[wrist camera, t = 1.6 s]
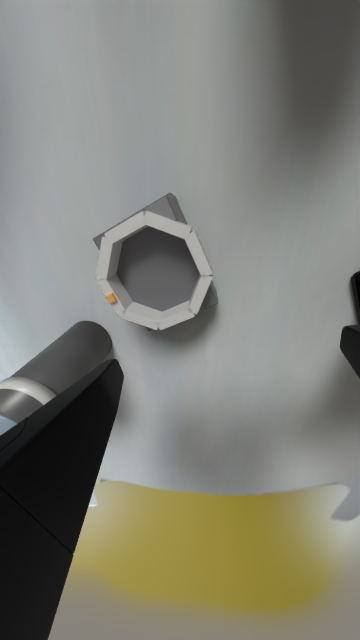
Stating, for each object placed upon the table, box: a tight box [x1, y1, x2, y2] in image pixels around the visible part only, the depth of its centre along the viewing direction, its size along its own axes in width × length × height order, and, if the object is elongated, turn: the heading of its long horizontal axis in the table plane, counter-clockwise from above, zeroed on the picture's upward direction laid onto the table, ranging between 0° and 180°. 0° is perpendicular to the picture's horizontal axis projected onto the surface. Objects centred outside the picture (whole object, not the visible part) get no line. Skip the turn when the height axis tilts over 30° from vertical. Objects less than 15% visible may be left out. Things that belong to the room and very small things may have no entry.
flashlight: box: [0, 321, 112, 435], centre depth 19 cm, size 5×5×12 cm
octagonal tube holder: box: [93, 193, 218, 331], centre depth 17 cm, size 9×8×5 cm
